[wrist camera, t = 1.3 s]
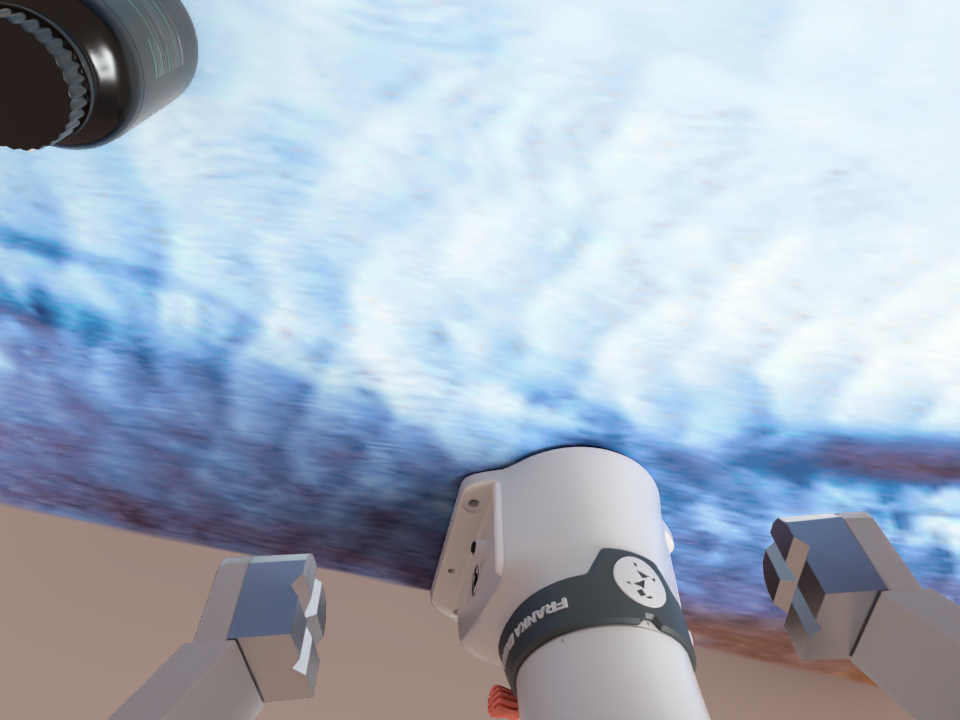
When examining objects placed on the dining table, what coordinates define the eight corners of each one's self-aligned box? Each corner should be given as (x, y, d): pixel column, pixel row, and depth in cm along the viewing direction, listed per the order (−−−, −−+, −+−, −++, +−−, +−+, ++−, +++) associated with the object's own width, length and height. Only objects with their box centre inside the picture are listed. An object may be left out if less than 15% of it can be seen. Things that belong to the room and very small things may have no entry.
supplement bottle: (93, 111, 36) (-42, 186, 26) (35, -35, 33) (-148, -12, 23) (218, 98, 36) (130, 168, 26) (175, -51, 32) (52, -35, 22)
